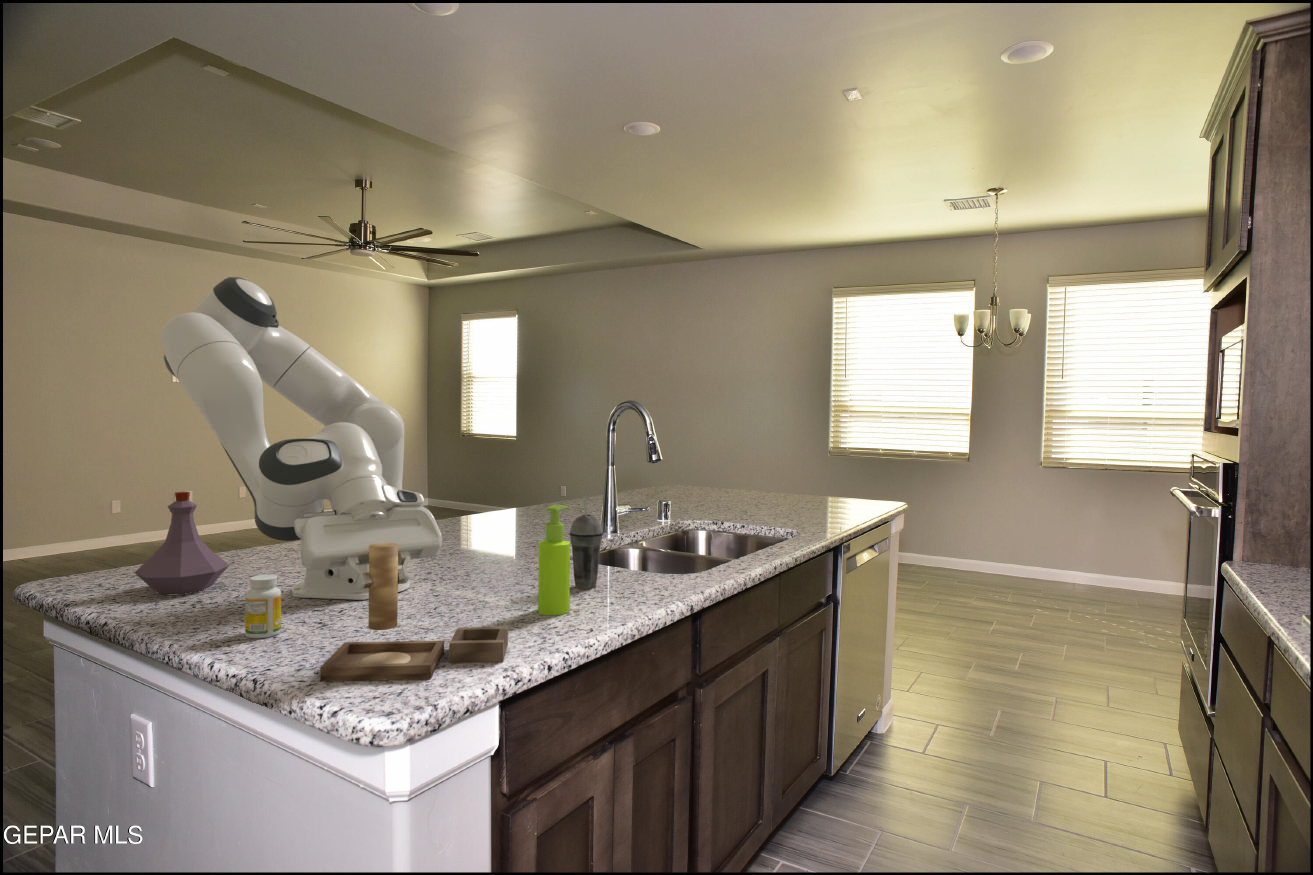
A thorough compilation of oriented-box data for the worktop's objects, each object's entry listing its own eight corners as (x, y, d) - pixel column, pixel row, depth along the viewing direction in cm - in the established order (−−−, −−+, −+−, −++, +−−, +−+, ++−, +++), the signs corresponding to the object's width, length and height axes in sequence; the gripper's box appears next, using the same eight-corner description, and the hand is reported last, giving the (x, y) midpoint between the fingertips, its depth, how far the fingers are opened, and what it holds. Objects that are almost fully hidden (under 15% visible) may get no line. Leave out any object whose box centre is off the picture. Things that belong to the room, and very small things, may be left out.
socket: (449, 662, 112) (449, 643, 112) (457, 645, 120) (457, 627, 120) (503, 661, 113) (503, 642, 113) (508, 644, 121) (508, 626, 120)
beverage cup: (605, 583, 163) (606, 492, 162) (599, 591, 156) (600, 496, 155) (572, 582, 164) (573, 491, 163) (565, 590, 156) (566, 495, 156)
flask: (186, 577, 162) (185, 486, 161) (248, 583, 158) (247, 490, 157) (113, 595, 146) (112, 494, 145) (179, 603, 142) (178, 499, 141)
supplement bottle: (253, 641, 120) (252, 582, 120) (239, 634, 124) (239, 577, 123) (287, 633, 125) (286, 577, 124) (273, 627, 128) (273, 571, 128)
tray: (320, 681, 104) (320, 667, 103) (344, 654, 114) (344, 642, 114) (430, 678, 105) (430, 665, 105) (444, 653, 116) (444, 640, 116)
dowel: (365, 630, 107) (365, 547, 107) (372, 622, 111) (373, 542, 111) (393, 630, 108) (394, 547, 107) (400, 622, 112) (401, 542, 111)
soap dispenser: (576, 607, 144) (578, 504, 143) (560, 616, 137) (562, 508, 136) (549, 604, 145) (550, 502, 145) (532, 613, 139) (533, 507, 138)
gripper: (295, 500, 108) (313, 580, 100) (432, 493, 120) (456, 563, 113) (287, 527, 111) (304, 606, 104) (421, 517, 124) (444, 586, 117)
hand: (384, 584), depth 109 cm, fingers closed on dowel, 4 cm apart
